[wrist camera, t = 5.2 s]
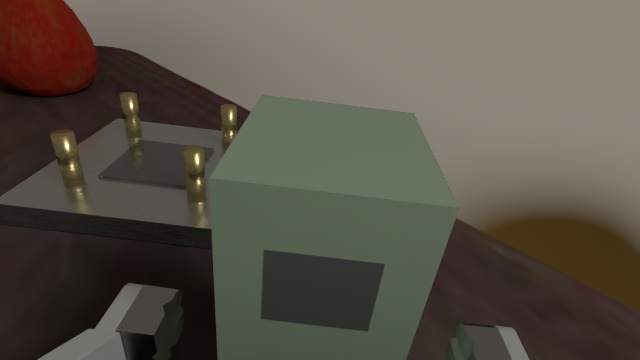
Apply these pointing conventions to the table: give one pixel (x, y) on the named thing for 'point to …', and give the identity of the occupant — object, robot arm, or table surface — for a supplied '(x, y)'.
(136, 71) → the table surface
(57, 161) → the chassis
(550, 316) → the table surface
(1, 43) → the apple
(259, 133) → the block
